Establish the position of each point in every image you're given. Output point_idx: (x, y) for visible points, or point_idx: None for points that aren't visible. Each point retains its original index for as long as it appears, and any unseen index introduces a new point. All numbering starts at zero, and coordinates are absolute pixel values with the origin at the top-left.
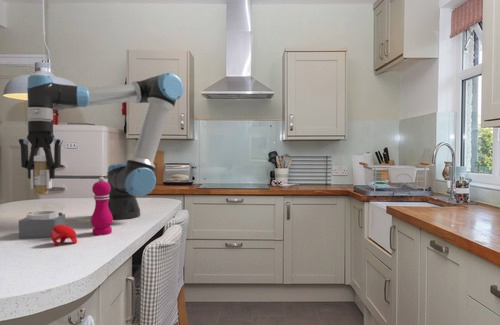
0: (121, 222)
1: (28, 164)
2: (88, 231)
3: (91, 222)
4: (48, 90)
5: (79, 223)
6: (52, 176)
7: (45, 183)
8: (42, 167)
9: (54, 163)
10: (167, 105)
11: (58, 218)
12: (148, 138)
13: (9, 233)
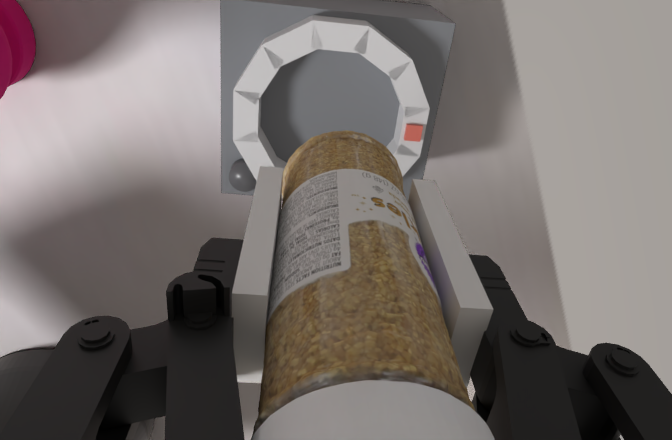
0: (3, 286)
1: (555, 378)
2: (91, 100)
3: None
4: None
5: None
6: (205, 252)
7: (292, 198)
8: (316, 308)
9: (105, 372)
10: None
11: (221, 81)
12: None
13: (508, 144)
